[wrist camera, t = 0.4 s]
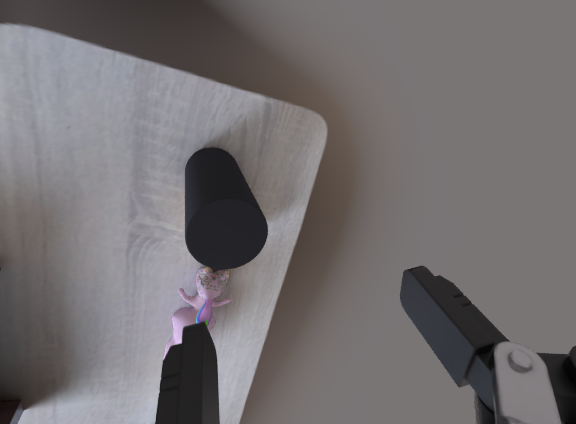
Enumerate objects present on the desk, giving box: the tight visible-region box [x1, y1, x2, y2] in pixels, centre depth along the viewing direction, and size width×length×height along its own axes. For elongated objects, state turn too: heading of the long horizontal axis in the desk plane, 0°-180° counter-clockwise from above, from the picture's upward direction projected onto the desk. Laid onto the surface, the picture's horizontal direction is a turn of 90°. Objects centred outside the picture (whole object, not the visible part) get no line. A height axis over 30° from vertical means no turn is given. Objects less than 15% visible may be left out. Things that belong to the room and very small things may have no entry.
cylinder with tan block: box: [185, 147, 268, 269], centre depth 26 cm, size 10×5×13 cm, turn 7°
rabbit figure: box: [163, 266, 231, 360], centre depth 34 cm, size 6×6×15 cm
